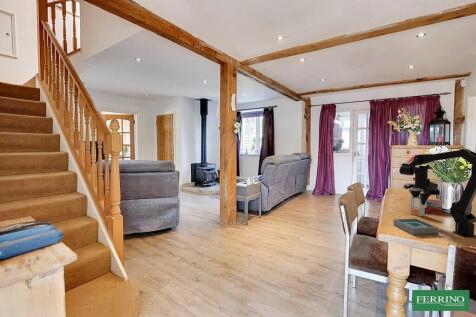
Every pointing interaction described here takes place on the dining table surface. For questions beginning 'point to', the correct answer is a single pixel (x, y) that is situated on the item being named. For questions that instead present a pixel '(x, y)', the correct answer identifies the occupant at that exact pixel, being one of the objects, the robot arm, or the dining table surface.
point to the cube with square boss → (419, 203)
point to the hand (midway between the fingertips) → (420, 204)
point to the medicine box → (434, 206)
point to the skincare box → (416, 209)
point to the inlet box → (416, 226)
